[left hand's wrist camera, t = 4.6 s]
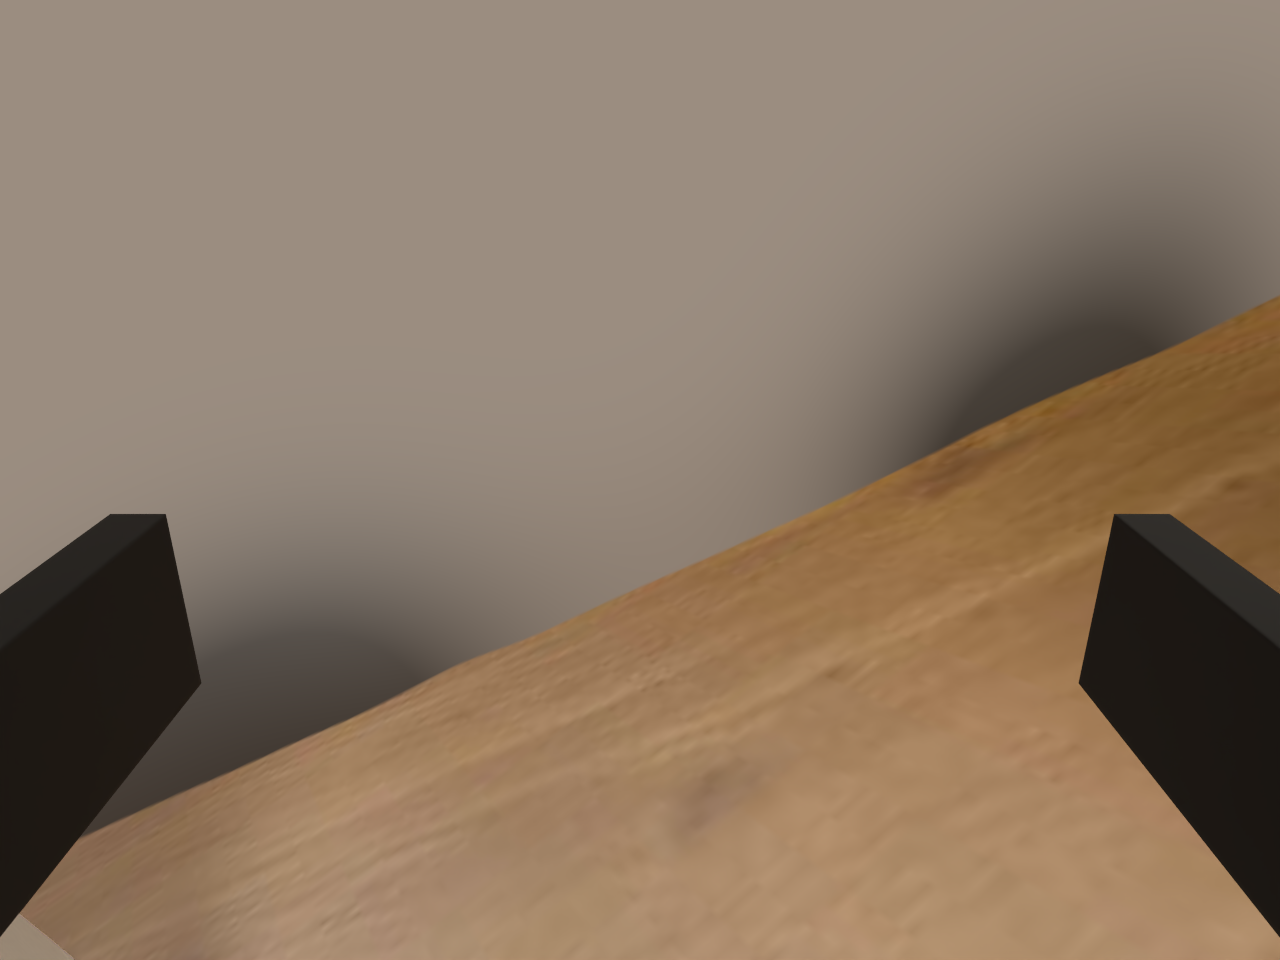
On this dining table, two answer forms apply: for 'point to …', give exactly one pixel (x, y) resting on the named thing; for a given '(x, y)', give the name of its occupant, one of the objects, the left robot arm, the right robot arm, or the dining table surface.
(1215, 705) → the left robot arm
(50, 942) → the chest
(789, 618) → the dining table surface
